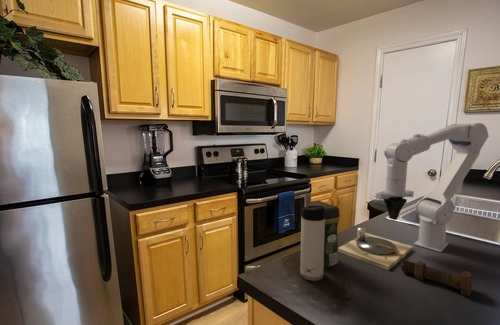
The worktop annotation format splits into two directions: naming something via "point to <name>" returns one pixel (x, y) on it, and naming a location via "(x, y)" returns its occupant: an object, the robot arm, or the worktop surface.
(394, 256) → the board
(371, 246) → the dial
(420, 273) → the bolt
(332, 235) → the coffee jar
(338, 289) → the worktop surface
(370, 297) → the worktop surface
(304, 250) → the travel mug
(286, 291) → the worktop surface
